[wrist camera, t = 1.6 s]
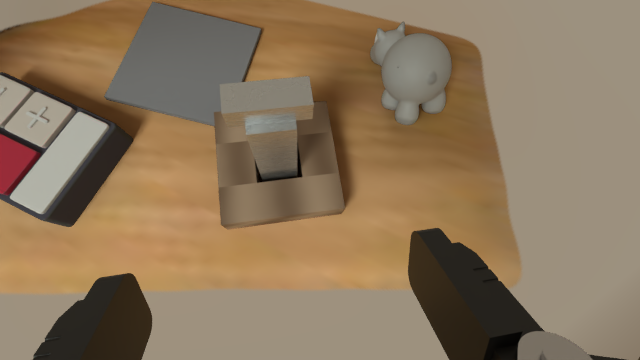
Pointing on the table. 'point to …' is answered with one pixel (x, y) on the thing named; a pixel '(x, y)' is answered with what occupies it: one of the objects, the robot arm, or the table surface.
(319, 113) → the block
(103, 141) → the calculator
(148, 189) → the table surface
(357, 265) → the table surface
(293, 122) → the t key
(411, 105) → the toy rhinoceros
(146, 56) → the mat
